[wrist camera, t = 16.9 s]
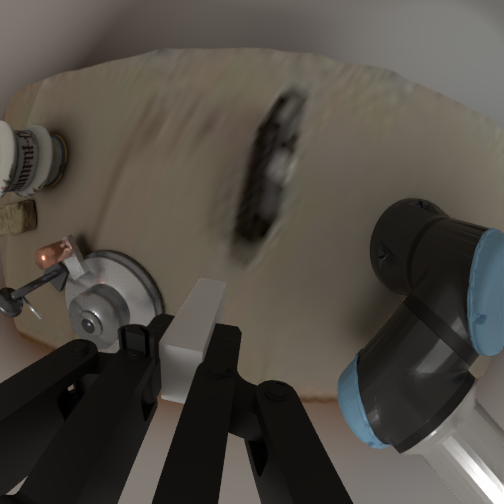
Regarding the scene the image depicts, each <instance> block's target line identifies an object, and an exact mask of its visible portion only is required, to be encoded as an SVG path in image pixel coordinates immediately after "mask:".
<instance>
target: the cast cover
mask: <svg viewBox="0 0 504 504" xmlns="http://www.w3.org/2000/svg"><path fill="white" fill-rule="evenodd" d="M69 318H70V322H71V325H72V327H73V329H74V330H75V332H76V333H77V335H78V336H79V337H80V338H81V339H87V340H90V341H92V342H93V343H95V344H96V346H97V349H107V348H109V347H111V346H112V345H113V344H114V343H115V341H116V340H117V339H118V329H119V328H120V327H121V326H124V325H127V324H129V323H130V311H129V308H128V305H127V303H126V301H125V300H124V298H123V297H122V295H121V294H120V293H119V292H118V291H117V290H115V289H114V288H113V287H111V286H109V285H106V284H95V285H93V286H91V287H90V288H88V289H87V290H85V291H84V292H82V293H81V294H79V295H78V296H77V297H75V298H74V299H73V300H72V301H71V303H70V305H69Z"/></svg>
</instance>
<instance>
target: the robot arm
mask: <svg viewBox="0 0 504 504" xmlns="http://www.w3.org/2000/svg"><path fill="white" fill-rule="evenodd" d="M370 257H371V263H372V267H373V269H374V272H375V274H376V276H377V277H378V278H379V280H380V281H381V282H382V283H383V284H384V285H385V286H386V287H388V288H389V289H390V290H392V291H393V292H395V293H397V294H400V295H405V296H407V298H406V299H405V300H404V301H403V303H402V304H401V305H400V306H399V308H398V309H397V310H396V311H395V313H394V314H393V315H392V316H391V318H390V319H389V320H388V321H387V322H386V324H385V325H384V326H383V327H382V328H381V329H380V331H379V332H378V333H377V334H376V335H375V336H374V337H373V339H372V340H371V341H370V342H369V343H368V344H367V345H366V346H365V347H364V349H361V350H360V351H359V352H358V353H357V354H356V357H355V358H354V360H353V361H352V362H351V363H350V364H349V365H348V366H347V368H346V369H345V370H344V371H343V372H342V374H341V375H340V377H339V380H338V384H337V391H338V393H337V398H338V403H339V406H340V409H341V412H342V414H343V416H344V418H345V420H346V422H347V424H348V425H349V427H350V428H351V430H352V431H353V432H354V434H355V435H356V436H357V437H358V438H359V439H360V440H361V441H362V442H364V443H368V445H369V446H370V447H372V448H375V449H381V448H384V447H389V446H390V445H391V444H392V446H393V447H394V448H395V449H396V450H397V451H398V452H399V453H400V454H401V455H420V456H421V457H422V458H423V459H424V460H425V462H426V463H427V464H428V465H429V466H430V467H431V468H432V470H433V471H434V472H435V473H436V474H437V475H438V476H439V477H440V479H441V480H442V481H443V482H444V483H445V484H446V485H447V486H448V488H449V489H450V490H451V491H452V492H453V493H454V494H455V495H456V496H457V498H458V499H459V500H460V501H461V502H462V503H463V504H504V430H503V429H502V428H501V427H500V426H499V424H498V423H497V422H496V421H495V420H494V419H493V418H492V417H491V415H490V414H489V413H488V412H487V411H486V410H485V409H484V408H483V407H482V405H481V404H480V403H479V402H478V401H477V399H476V389H477V379H476V378H475V377H474V376H473V375H472V374H471V373H470V372H469V371H468V368H469V367H470V365H472V363H473V362H474V361H475V360H476V358H477V357H478V356H479V355H485V356H493V355H496V354H498V353H499V352H501V350H502V348H504V233H502V232H501V231H500V230H498V229H495V228H492V229H490V228H487V227H483V226H479V225H476V224H472V223H468V222H464V221H460V220H456V219H452V218H450V217H449V216H448V215H447V214H446V213H445V212H444V211H442V210H441V209H440V208H439V207H438V206H437V205H435V204H433V203H431V202H429V201H427V200H422V199H416V198H409V199H404V200H401V201H398V202H396V203H395V204H393V205H392V206H390V207H389V208H388V209H387V210H386V211H385V212H384V213H383V214H382V216H381V217H380V219H379V220H378V222H377V224H376V226H375V228H374V231H373V234H372V238H371V244H370ZM226 286H227V282H221V281H215V280H209V279H203V278H199V280H198V281H197V283H196V284H195V286H194V288H193V289H192V291H191V292H190V294H189V295H188V297H187V298H186V300H185V302H184V303H183V305H182V306H181V308H180V309H179V311H178V313H177V314H176V316H172V315H167V314H163V313H161V314H159V315H157V316H155V317H154V318H153V319H152V320H151V322H150V323H149V324H148V326H147V327H146V326H144V325H140V324H127V325H124V326H121V327H120V328H119V329H118V339H119V348H120V349H119V350H118V351H117V353H104V352H98V349H97V346H96V344H95V343H93V342H92V341H90V340H87V339H75V340H72V341H70V342H68V343H66V344H65V345H63V346H61V347H60V348H58V349H56V350H55V351H53V352H51V353H50V354H48V355H47V356H45V357H43V358H41V359H40V360H38V361H36V362H35V363H33V364H31V365H30V366H28V367H26V368H25V369H23V370H21V371H20V372H18V373H16V374H15V375H13V376H12V377H10V378H9V379H7V380H5V381H3V382H2V383H0V504H118V501H119V498H120V496H121V493H122V491H123V488H124V486H125V483H126V481H127V478H128V476H129V473H130V471H131V468H132V466H133V464H134V461H135V459H136V456H137V454H138V452H139V449H140V447H141V444H142V442H143V440H144V437H145V435H146V432H147V430H148V427H149V425H150V423H151V421H152V418H153V416H154V414H155V411H156V409H157V405H158V401H157V396H158V394H159V392H160V390H161V398H163V399H166V400H170V401H174V402H179V403H184V407H183V410H182V413H181V416H180V419H179V422H178V425H177V427H176V431H175V434H174V437H173V439H172V443H171V445H170V449H169V452H168V455H167V458H166V461H165V464H164V467H163V470H162V473H161V476H160V479H159V482H158V485H157V489H156V491H155V495H154V498H153V501H152V504H218V499H219V492H220V486H221V478H222V472H223V465H224V458H225V451H226V444H227V437H228V432H229V433H231V434H234V435H236V436H239V437H241V438H244V439H245V440H244V441H245V445H246V449H247V453H248V457H249V461H250V464H251V469H252V472H253V476H254V480H255V483H256V487H257V490H258V494H259V497H260V501H261V504H353V502H352V500H351V498H350V496H349V495H348V493H347V491H346V489H345V487H344V485H343V483H342V481H341V479H340V478H339V476H338V474H337V472H336V470H335V468H334V466H333V464H332V462H331V460H330V458H329V457H328V455H327V452H326V451H325V449H324V447H323V445H322V443H321V441H320V439H319V437H318V435H317V433H316V431H315V429H314V427H313V425H312V423H311V421H310V419H309V417H308V415H307V413H306V411H305V409H304V407H303V405H302V403H301V401H300V399H299V397H298V395H297V393H296V391H295V390H294V389H293V387H291V386H290V385H288V384H287V383H284V382H281V381H275V380H269V381H264V382H262V383H261V384H259V385H258V386H257V385H254V384H251V383H249V382H247V381H245V380H244V379H243V378H242V377H241V376H240V375H239V373H238V371H237V364H238V357H239V350H240V343H241V335H242V333H241V331H240V329H239V328H238V327H237V326H231V325H224V324H222V318H223V310H224V302H225V294H226ZM72 384H73V387H74V389H72V390H70V391H68V387H69V386H71V385H72ZM27 476H28V477H27ZM25 477H27V478H26V480H25V482H24V483H23V485H22V486H21V488H20V490H19V491H18V492H17V493H16V494H14V495H6V493H8V492H9V491H10V490H11V489H13V488H14V487H15V486H16V485H17V484H18V483H20V482H21V481H22V480H23V479H24V478H25Z"/></svg>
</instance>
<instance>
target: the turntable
mask: <svg viewBox="0 0 504 504" xmlns="http://www.w3.org/2000/svg"><path fill="white" fill-rule="evenodd" d="M63 260H64V262H65V264H66V266H67V268H68V270H69V272H70V274H69V276H68V279H67V282H66V289H65V298H66V304H67V308H68V311H69V305H70V303H71V301H72V300H73V299H74V298H75V297H77V296H78V295H79V294H81V293H82V292H84V291H85V290H87V289H88V288H90V287H91V286H93V285H95V284H106V285H109V286H111V287H113V288H114V289H115V290H117V291H118V292H119V293H120V294H121V295H122V297H123V298H124V300H125V301H126V303H127V305H128V308H129V311H130V323H129V324H140V325H144V326H146V327H147V326H148V324H149V323H150V322H151V320H152V319H153V318H154V317H155V316H157V309H156V305H155V302H154V299H153V297H152V295H151V293H150V291H149V289H148V287H147V286H146V284H145V283H144V281H143V280H142V279H141V278H140V277H139V275H138V274H136V273H135V272H134V271H133V270H132V269H131V268H130V267H128V266H127V265H125V264H124V263H122V262H120V261H118V260H116V259H114V258H110V257H106V256H94V257H90V258H87V259H85V260H84V259H83V257H82V255H81V253H80V251H79V249H78V247H77V245H76V243H75V241H74V239H73V237H72V235H69V236H66V237H65V238H64V239H63V240H61V241H58V242H56V243H53V244H50V245H48V246H45V247H42V248H40V249H37V250H36V252H35V261H36V264H37V265H38V267H39V268H40V269H43V270H44V269H46V268H48V267H50V266H53V265H55V264H57V263H59V262H61V261H63ZM119 349H120V348H119V339H117V340H116V341H115V343H114V344H113V345H112V346H111V347H109V348H107V349H99V350H101V351H103V352H105V353H117V351H118V350H119Z"/></svg>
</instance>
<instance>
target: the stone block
mask: <svg viewBox="0 0 504 504" xmlns="http://www.w3.org/2000/svg"><path fill="white" fill-rule="evenodd" d="M33 204H34V202H33V201H32V200H30V199H29V200H25V201H21V202H17V203H14V204H11V205H8V206H3V207H0V236H5V235H10V234H19V233H23V232H26V231H29V230H32V229H35V228H36V220H37V219H36V212H35V210H34V208H33V207H34V206H33Z"/></svg>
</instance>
